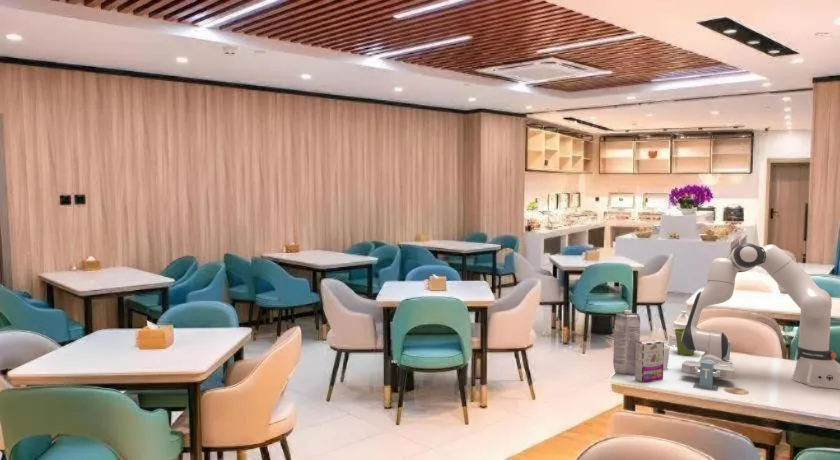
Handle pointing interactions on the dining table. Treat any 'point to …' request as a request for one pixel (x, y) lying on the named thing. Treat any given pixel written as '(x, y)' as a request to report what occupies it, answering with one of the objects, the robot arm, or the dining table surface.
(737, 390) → the coaster
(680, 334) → the plant pot
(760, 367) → the dining table surface
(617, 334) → the juice carton
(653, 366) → the candy bar box
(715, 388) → the tile
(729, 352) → the medicine box
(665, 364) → the white cup
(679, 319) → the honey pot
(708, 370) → the letter block
